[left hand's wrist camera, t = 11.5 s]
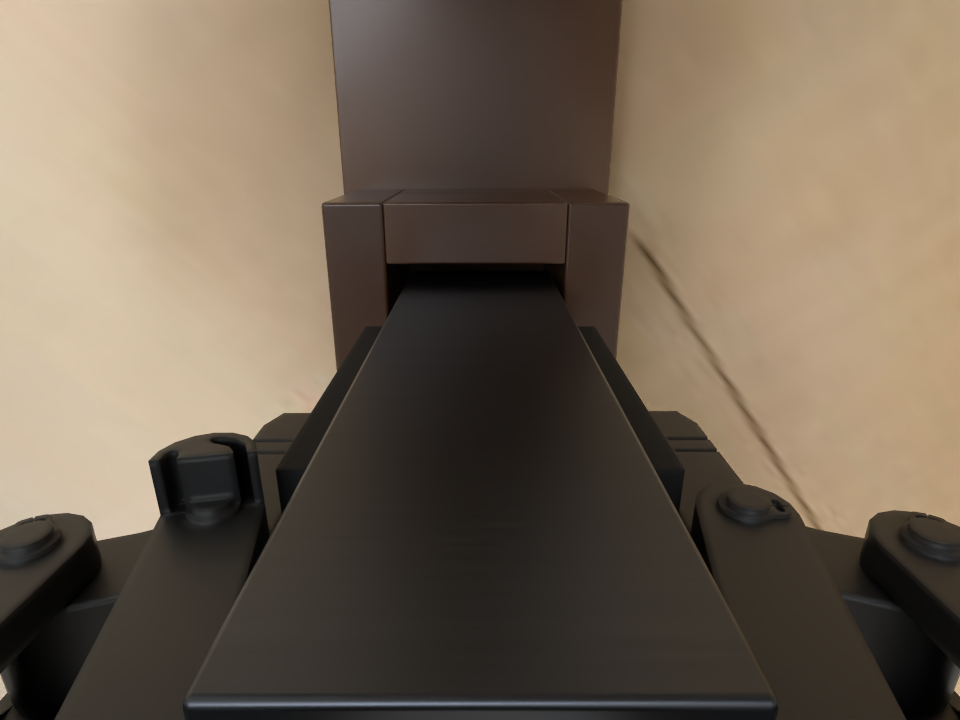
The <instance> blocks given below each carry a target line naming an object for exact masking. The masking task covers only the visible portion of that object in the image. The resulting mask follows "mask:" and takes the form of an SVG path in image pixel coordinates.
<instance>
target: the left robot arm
mask: <svg viewBox="0 0 960 720" xmlns="http://www.w3.org/2000/svg"><path fill="white" fill-rule="evenodd" d="M382 327H383V326H366V327H365V328H364V330H363V331H362V333H361V335H360V336H359V338H358V339H357V341H356V343H355V344H354V346H353V347H352V349H351V351H350V352H349V354H348V355H347V357H346V358H345V360H344V362H343V363H342V365H341V366H340V368H339V370H338V371H337V373H336V374H335V376H334V378H333V379H332V381H331V382H330V384H329V385H328V387H327V389H326V390H325V392H324V393H323V395H322V397H321V398H320V400H319V401H318V403H317V405H316V406H315V408H314V409H313V411H312V412H311V413H284V414H282V415H280V416H279V417H277V418H275V419H274V420H272V421H270V422H269V423H267V424H265V425H264V426H263V427H262V429H261V430H260V431H259V433H258V434H257V435H256V436H255V438H254V439H253V440H252V439H250V438H249V437H248V436H245V435H240V434H236V433H211V434H205V435H199V436H194V437H191V438H188V439H184V440H181V441H178V442H175V443H173V444H171V445H169V446H168V447H166V448H164V449H162V450H160V451H158V452H157V453H156V454H155V455H154V456H153V457H152V458H151V459H150V460H149V461H148V462H149V466H150V471H151V475H152V479H153V484H154V488H155V493H156V497H157V501H158V506H159V510H160V514H161V516H160V518H159V520H158V522H157V524H156V526H155V527H154V529H153V530H150V531H146V532H142V533H137V534H132V535H127V536H121V537H116V538H111V539H106V540H100V541H97V540H96V536H95V533H94V529H93V526H92V523H91V522H90V521H89V520H88V519H87V518H85V517H84V516H81V515H75V514H70V513H63V514H52V515H49V514H48V515H41V516H36V517H35V518H28V519H25V520H22V521H19V522H17V523H16V524H14V525H12V526H10V527H7V528H5V529H2V530H0V674H1V677H2V680H3V682H4V685H5V687H6V690H7V694H6V695H5V696H4V697H3V698H2V699H1V700H0V720H185V716H184V712H183V700H184V697H185V694H186V692H187V690H188V689H189V687H190V685H191V683H192V681H193V679H194V677H195V676H196V674H197V672H198V670H199V668H200V666H201V664H202V663H203V661H204V659H205V657H206V655H207V653H208V651H209V649H210V648H211V646H212V644H213V642H214V640H215V638H216V636H217V635H218V633H219V631H220V629H221V627H222V625H223V623H224V622H225V620H226V618H227V616H228V614H229V612H230V610H231V608H232V607H233V605H234V603H235V601H236V599H237V597H238V595H239V594H240V592H241V590H242V588H243V586H244V584H245V582H246V581H247V579H248V577H249V575H250V573H251V571H252V569H253V567H254V566H255V564H256V562H257V560H258V558H259V556H260V554H261V553H262V551H263V549H264V547H265V545H266V543H267V541H268V540H269V538H270V536H271V534H272V532H273V530H274V528H275V526H276V525H277V523H278V521H279V519H280V517H281V515H282V513H283V512H284V510H285V508H286V506H287V504H288V502H289V500H290V499H291V497H292V495H293V493H294V491H295V489H296V487H297V485H298V484H299V482H300V480H301V478H302V476H303V474H304V472H305V471H306V469H307V467H308V465H309V463H310V461H311V459H312V458H313V456H314V454H315V452H316V450H317V448H318V446H319V444H320V443H321V441H322V439H323V437H324V435H325V433H326V431H327V430H328V428H329V426H330V424H331V422H332V420H333V418H334V417H335V415H336V413H337V411H338V409H339V407H340V405H341V403H342V402H343V400H344V398H345V396H346V394H347V392H348V390H349V389H350V387H351V385H352V383H353V381H354V379H355V377H356V376H357V374H358V372H359V370H360V368H361V366H362V364H363V362H364V361H365V359H366V357H367V355H368V353H369V351H370V349H371V348H372V346H373V344H374V342H375V340H376V338H377V336H378V335H379V333H380V331H381V329H382ZM578 328H579V330H580V332H581V334H582V335H583V337H584V339H585V341H586V343H587V345H588V347H589V348H590V350H591V352H592V354H593V356H594V358H595V360H596V361H597V363H598V365H599V367H600V369H601V371H602V373H603V374H604V376H605V378H606V380H607V382H608V384H609V386H610V387H611V389H612V391H613V393H614V395H615V397H616V399H617V400H618V402H619V404H620V406H621V408H622V410H623V412H624V413H625V415H626V417H627V419H628V421H629V423H630V425H631V427H632V428H633V430H634V432H635V434H636V436H637V438H638V440H639V441H640V443H641V445H642V447H643V449H644V451H645V453H646V454H647V456H648V458H649V460H650V462H651V464H652V466H653V467H654V469H655V471H656V473H657V475H658V477H659V479H660V480H661V482H662V484H663V486H664V488H665V490H666V492H667V493H668V495H669V497H670V499H671V501H672V503H673V505H674V506H675V508H676V510H677V512H678V514H679V516H680V518H681V519H682V521H683V523H684V525H685V527H686V529H687V531H688V532H689V534H690V536H691V538H692V540H693V542H694V544H695V545H696V547H697V549H698V551H699V553H700V555H701V557H702V558H703V560H704V562H705V564H706V566H707V568H708V570H709V571H710V573H711V575H712V577H713V579H714V581H715V583H716V584H717V586H718V588H719V590H720V592H721V594H722V596H723V597H724V599H725V601H726V603H727V605H728V607H729V609H730V610H731V612H732V614H733V616H734V618H735V620H736V622H737V623H738V625H739V627H740V629H741V631H742V633H743V635H744V636H745V638H746V640H747V642H748V644H749V646H750V648H751V649H752V651H753V653H754V655H755V657H756V659H757V661H758V662H759V664H760V666H761V668H762V670H763V672H764V674H765V675H766V677H767V679H768V681H769V683H770V685H771V687H772V688H773V690H774V692H775V694H776V697H777V700H778V708H779V709H778V713H777V717H776V720H960V696H959V695H958V694H957V693H956V692H955V691H954V689H955V686H956V684H957V681H958V679H959V676H960V527H959V526H956V525H954V524H951V523H949V522H946V521H945V520H944V519H942V518H939V517H936V516H932V515H929V516H928V515H926V514H925V513H919V512H906V511H895V510H893V511H887V512H882V513H878V514H876V515H875V516H874V517H873V518H871V519H870V520H869V524H868V527H867V531H866V535H865V538H859V537H853V536H848V535H843V534H837V533H832V532H827V531H822V530H817V529H813V528H809V527H806V526H805V525H804V523H803V521H802V519H801V517H800V515H799V514H798V513H797V511H796V510H795V509H794V508H793V507H792V506H791V504H790V503H788V502H787V501H785V500H783V499H782V498H780V497H779V496H777V495H776V494H774V493H771V492H769V491H766V490H763V489H761V488H758V487H756V486H750V485H745V484H743V482H742V481H741V480H740V479H739V477H738V476H737V475H736V473H735V472H734V471H733V470H732V468H731V467H730V466H729V464H728V463H727V462H726V461H725V459H724V458H723V457H722V455H721V454H720V453H719V452H717V449H716V448H715V446H714V445H713V444H712V442H711V441H710V440H708V437H707V436H706V435H705V433H704V432H703V431H702V430H701V428H700V427H699V426H698V424H697V423H695V422H694V421H692V420H690V419H689V418H687V417H685V416H684V415H682V414H680V413H679V412H677V411H648V410H647V409H646V407H645V405H644V404H643V402H642V401H641V399H640V398H639V396H638V394H637V393H636V391H635V390H634V388H633V386H632V385H631V383H630V382H629V380H628V378H627V377H626V375H625V374H624V372H623V371H622V369H621V367H620V366H619V364H618V363H617V361H616V359H615V358H614V356H613V355H612V353H611V352H610V350H609V348H608V347H607V345H606V344H605V342H604V340H603V339H602V337H601V336H600V334H599V332H598V331H597V329H596V328H595V326H578Z"/></svg>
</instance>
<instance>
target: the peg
mask: <svg viewBox="0 0 960 720" xmlns="http://www.w3.org/2000/svg"><path fill="white" fill-rule="evenodd" d="M778 709H779V708H778V700H777V697H776V694H775V692H774V690H773V688H772V687H771V685H770V683H769V681H768V679H767V677H766V675H765V674H764V672H763V670H762V668H761V666H760V664H759V662H758V661H757V659H756V657H755V655H754V653H753V651H752V649H751V648H750V646H749V644H748V642H747V640H746V638H745V636H744V635H743V633H742V631H741V629H740V627H739V625H738V623H737V622H736V620H735V618H734V616H733V614H732V612H731V610H730V609H729V607H728V605H727V603H726V601H725V599H724V597H723V596H722V594H721V592H720V590H719V588H718V586H717V584H716V583H715V581H714V579H713V577H712V575H711V573H710V571H709V570H708V568H707V566H706V564H705V562H704V560H703V558H702V557H701V555H700V553H699V551H698V549H697V547H696V545H695V544H694V542H693V540H692V538H691V536H690V534H689V532H688V531H687V529H686V527H685V525H684V523H683V521H682V519H681V518H680V516H679V514H678V512H677V510H676V508H675V506H674V505H673V503H672V501H671V499H670V497H669V495H668V493H667V492H666V490H665V488H664V486H663V484H662V482H661V480H660V479H659V477H658V475H657V473H656V471H655V469H654V467H653V466H652V464H651V462H650V460H649V458H648V456H647V454H646V453H645V451H644V449H643V447H642V445H641V443H640V441H639V440H638V438H637V436H636V434H635V432H634V430H633V428H632V427H631V425H630V423H629V421H628V419H627V417H626V415H625V413H624V412H623V410H622V408H621V406H620V404H619V402H618V400H617V399H616V397H615V395H614V393H613V391H612V389H611V387H610V386H609V384H608V382H607V380H606V378H605V376H604V374H603V373H602V371H601V369H600V367H599V365H598V363H597V361H596V360H595V358H594V356H593V354H592V352H591V350H590V348H589V347H588V345H587V343H586V341H585V339H584V337H583V335H582V334H581V332H580V330H579V328H578V326H577V324H576V322H575V321H574V319H573V317H572V315H571V313H570V311H569V309H568V308H567V306H566V304H565V302H564V300H563V298H562V296H561V295H560V293H559V291H558V289H557V287H556V285H555V283H554V282H553V280H552V278H551V276H550V274H549V272H548V271H412V273H411V275H410V277H409V279H408V280H407V282H406V284H405V286H404V288H403V290H402V292H401V294H400V295H399V297H398V299H397V301H396V303H395V305H394V307H393V308H392V310H391V312H390V314H389V316H388V318H387V320H386V321H385V323H384V325H383V327H382V329H381V331H380V333H379V335H378V336H377V338H376V340H375V342H374V344H373V346H372V348H371V349H370V351H369V353H368V355H367V357H366V359H365V361H364V362H363V364H362V366H361V368H360V370H359V372H358V374H357V376H356V377H355V379H354V381H353V383H352V385H351V387H350V389H349V390H348V392H347V394H346V396H345V398H344V400H343V402H342V403H341V405H340V407H339V409H338V411H337V413H336V415H335V417H334V418H333V420H332V422H331V424H330V426H329V428H328V430H327V431H326V433H325V435H324V437H323V439H322V441H321V443H320V444H319V446H318V448H317V450H316V452H315V454H314V456H313V458H312V459H311V461H310V463H309V465H308V467H307V469H306V471H305V472H304V474H303V476H302V478H301V480H300V482H299V484H298V485H297V487H296V489H295V491H294V493H293V495H292V497H291V499H290V500H289V502H288V504H287V506H286V508H285V510H284V512H283V513H282V515H281V517H280V519H279V521H278V523H277V525H276V526H275V528H274V530H273V532H272V534H271V536H270V538H269V540H268V541H267V543H266V545H265V547H264V549H263V551H262V553H261V554H260V556H259V558H258V560H257V562H256V564H255V566H254V567H253V569H252V571H251V573H250V575H249V577H248V579H247V581H246V582H245V584H244V586H243V588H242V590H241V592H240V594H239V595H238V597H237V599H236V601H235V603H234V605H233V607H232V608H231V610H230V612H229V614H228V616H227V618H226V620H225V622H224V623H223V625H222V627H221V629H220V631H219V633H218V635H217V636H216V638H215V640H214V642H213V644H212V646H211V648H210V649H209V651H208V653H207V655H206V657H205V659H204V661H203V663H202V664H201V666H200V668H199V670H198V672H197V674H196V676H195V677H194V679H193V681H192V683H191V685H190V687H189V689H188V690H187V692H186V694H185V697H184V700H183V712H184V716H185V720H776V717H777V713H778Z"/></svg>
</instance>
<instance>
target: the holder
mask: <svg viewBox="0 0 960 720" xmlns="http://www.w3.org/2000/svg"><path fill="white" fill-rule="evenodd" d="M329 9H330V22H331V34H332V47H333V59H334V72H335V85H336V97H337V110H338V122H339V135H340V148H341V160H342V173H343V185H344V195H343V196H340V197H338V198H335V199H332V200H330V201H327V202H324V203H322V216H323V226H324V237H325V248H326V258H327V269H328V280H329V291H330V301H331V312H332V323H333V334H334V344H335V355H336V366H337V371H338V370H339V368H340V366H341V365H342V363H343V362H344V360H345V358H346V357H347V355H348V354H349V352H350V351H351V349H352V347H353V346H354V344H355V343H356V341H357V339H358V338H359V336H360V335H361V333H362V331H363V330H364V328H365V327H366V326H383V325H384V323H385V321H386V320H387V318H388V316H389V314H390V312H391V310H392V308H393V307H394V305H395V303H396V301H397V299H398V297H399V295H400V294H401V292H402V290H403V288H404V286H405V284H406V282H407V280H408V279H409V277H410V275H411V273H412V271H548V272H549V274H550V276H551V278H552V280H553V282H554V283H555V285H556V287H557V289H558V291H559V293H560V295H561V296H562V298H563V300H564V302H565V304H566V306H567V308H568V309H569V311H570V313H571V315H572V317H573V319H574V321H575V322H576V324H577V326H595V328H596V329H597V331H598V332H599V334H600V336H601V337H602V339H603V340H604V342H605V344H606V345H607V347H608V348H609V350H610V352H611V353H612V355H613V356H614V358H615V359H616V352H617V341H618V329H619V318H620V306H621V295H622V283H623V272H624V260H625V249H626V238H627V226H628V215H629V203H627V202H624V201H622V200H619V199H617V198H614V197H612V196H609V195H608V186H609V173H610V159H611V146H612V132H613V119H614V106H615V92H616V79H617V65H618V52H619V38H620V25H621V11H622V0H329Z"/></svg>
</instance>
